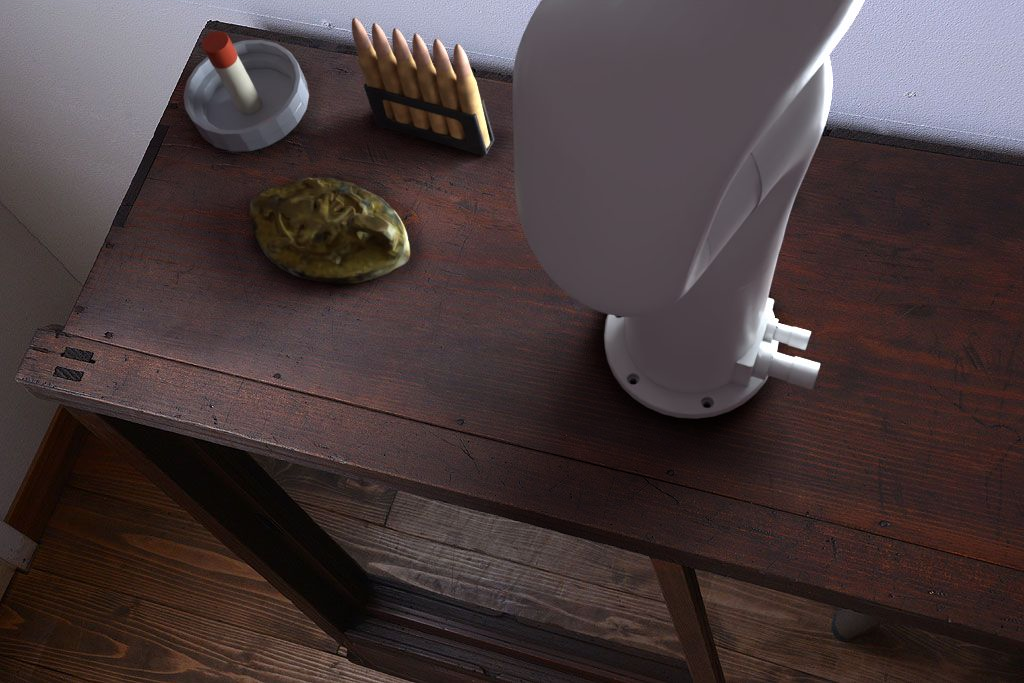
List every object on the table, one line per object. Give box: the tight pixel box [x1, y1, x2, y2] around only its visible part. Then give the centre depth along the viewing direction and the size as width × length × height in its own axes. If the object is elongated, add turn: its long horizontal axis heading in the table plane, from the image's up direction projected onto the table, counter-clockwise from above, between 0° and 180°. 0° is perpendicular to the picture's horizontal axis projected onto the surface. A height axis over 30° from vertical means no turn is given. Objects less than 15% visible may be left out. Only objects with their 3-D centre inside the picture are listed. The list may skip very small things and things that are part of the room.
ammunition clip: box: [351, 17, 495, 157], centre depth 78 cm, size 11×2×12 cm, turn 66°
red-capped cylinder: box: [201, 30, 262, 115], centre depth 83 cm, size 2×2×8 cm
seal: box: [248, 176, 411, 285], centre depth 78 cm, size 9×5×15 cm
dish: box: [183, 39, 310, 153], centre depth 86 cm, size 10×10×3 cm
